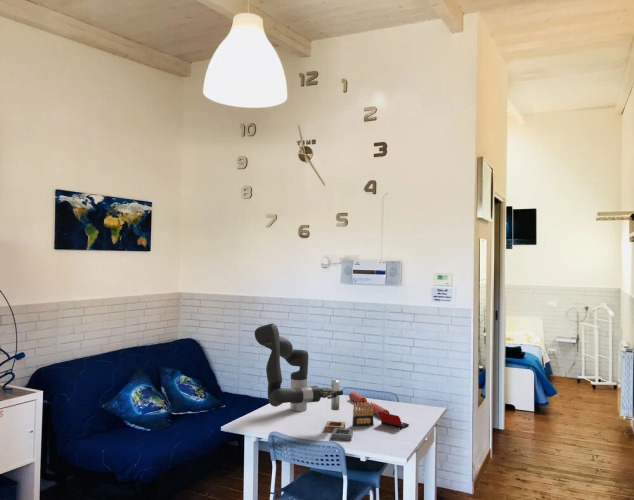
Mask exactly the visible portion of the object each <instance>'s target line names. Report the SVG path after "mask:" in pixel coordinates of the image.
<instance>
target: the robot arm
mask: <svg viewBox="0 0 634 500" xmlns="http://www.w3.org/2000/svg"><path fill="white" fill-rule="evenodd" d="M254 339H255V340H256V342H257V343H258V344H259V345H261V346H262V347H265V348H267V349H269V350H271V351H270V355H269V357H268V360H267V363H266V366H265V367H266V368H265V369H266V373H265V374H266V380H267V399H268V403H269V404H270V405H271V406H272V407H274V408H275V407H276V408H277V407H279V406H281V405H282V404H287V403H290V404H289V405H290V411H291V412H292V411H293V412H305V411H307V408H308V403H319V402H320V400H321V399H327V400H330V399H331V398H335V397H337V396H338V395H339V396H343V395H344V390H340V391H332V387H319V386H318V385H312V386H311V385H310V386H308V372H309V371H308V370H309V353H308V350H305V349H296V348H295V349H294V348H293V347H294V346H293V343H292V342H291V341H290V340H288V339H287V338H285V337H284V336H280V331H279V328H278V326H277V325H276V324H275V323H273V322H272V323H269V324H264V325H261V326H258V327H257V328H256V329H255V330H254ZM280 357H281V358H282V359H284V360H285V361H286V362H287V364H289V365H290V366H291V367H292V366H293V367H299V370H297V371H294V372H291V374H290V388H288V387H287V388H285V387H282V384H283V375H282V368H281V360H280Z"/></svg>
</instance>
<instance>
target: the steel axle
mask: <svg viewBox="0 0 634 500" xmlns="http://www.w3.org/2000/svg"><path fill="white" fill-rule="evenodd" d="M340 384H341V381H340V380H338V379H334V380H333V379H332V380H331V389H332V391H340V389H341V387H340ZM330 402H331V403H330V405H331V406H330V410H331V411H340V395H338V396H337V397H335V398H331V401H330Z"/></svg>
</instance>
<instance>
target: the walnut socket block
mask: <svg viewBox="0 0 634 500" xmlns="http://www.w3.org/2000/svg"><path fill="white" fill-rule="evenodd" d="M334 428H339V429H346V422H345V421H333V420H327V422H326V424H325V425H324V432H329V433H333V430H334Z"/></svg>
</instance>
